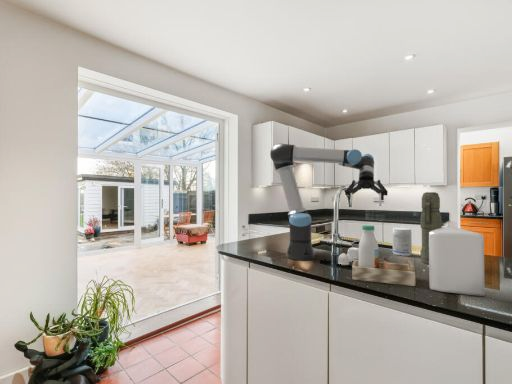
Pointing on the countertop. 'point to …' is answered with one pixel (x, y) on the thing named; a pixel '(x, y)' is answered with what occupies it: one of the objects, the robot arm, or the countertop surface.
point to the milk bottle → (368, 248)
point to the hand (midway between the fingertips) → (365, 204)
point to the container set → (348, 256)
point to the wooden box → (386, 273)
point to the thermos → (429, 221)
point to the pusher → (386, 262)
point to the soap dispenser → (456, 261)
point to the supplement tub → (402, 241)
